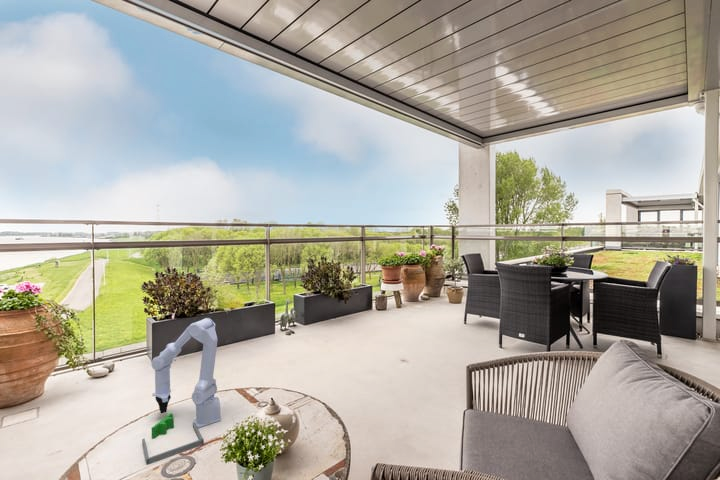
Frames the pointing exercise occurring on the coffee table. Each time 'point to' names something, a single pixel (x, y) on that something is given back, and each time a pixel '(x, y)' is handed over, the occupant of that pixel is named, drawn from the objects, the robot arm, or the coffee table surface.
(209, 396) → the robot arm
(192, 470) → the coffee table surface
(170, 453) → the grey u-shaped frame
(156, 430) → the green stepped block
